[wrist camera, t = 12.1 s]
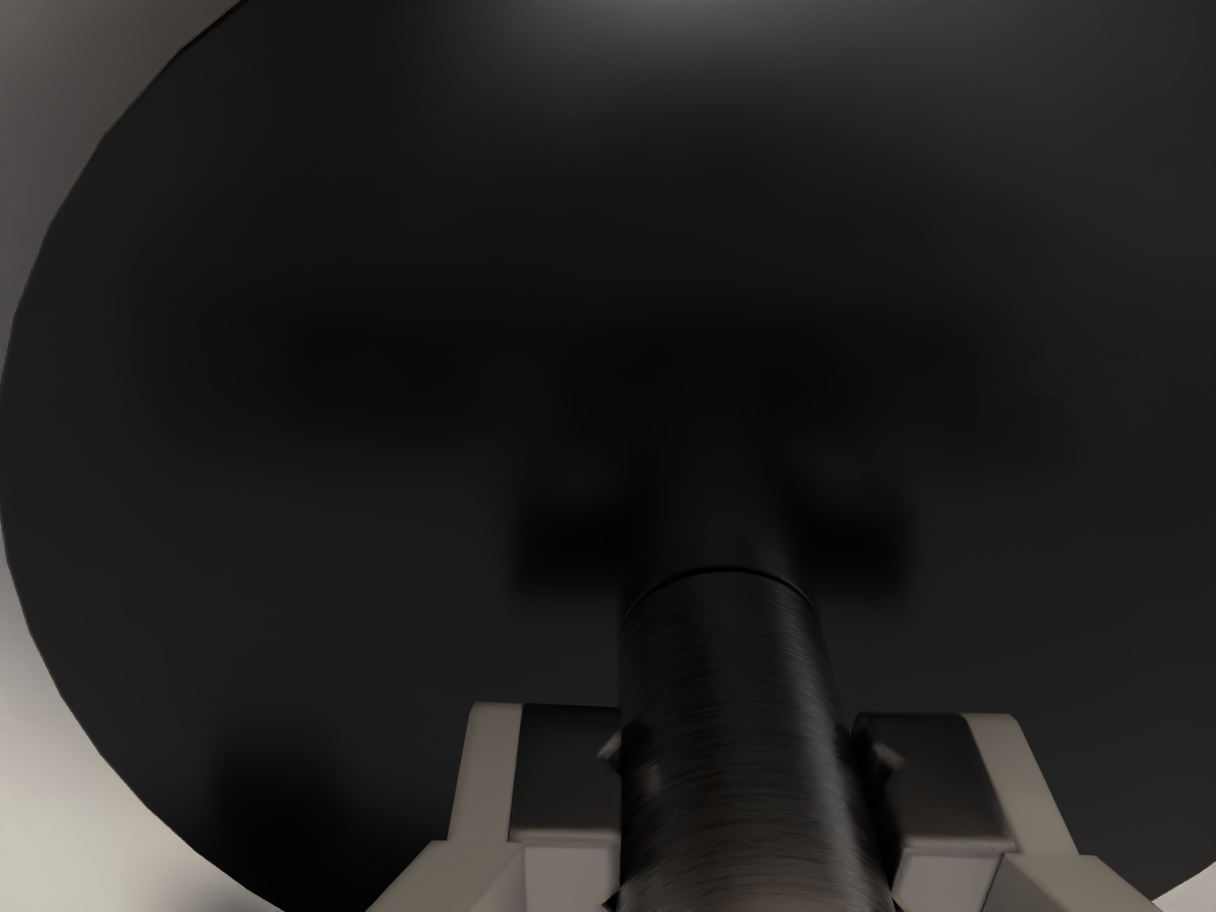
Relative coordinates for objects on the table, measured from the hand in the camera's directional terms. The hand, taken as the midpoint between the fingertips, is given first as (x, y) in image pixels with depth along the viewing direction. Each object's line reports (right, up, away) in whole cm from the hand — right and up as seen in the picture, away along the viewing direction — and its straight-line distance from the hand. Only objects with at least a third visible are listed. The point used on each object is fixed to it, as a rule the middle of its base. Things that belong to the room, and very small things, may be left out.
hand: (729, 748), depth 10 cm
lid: (0, +1, +2) cm, 2 cm away
